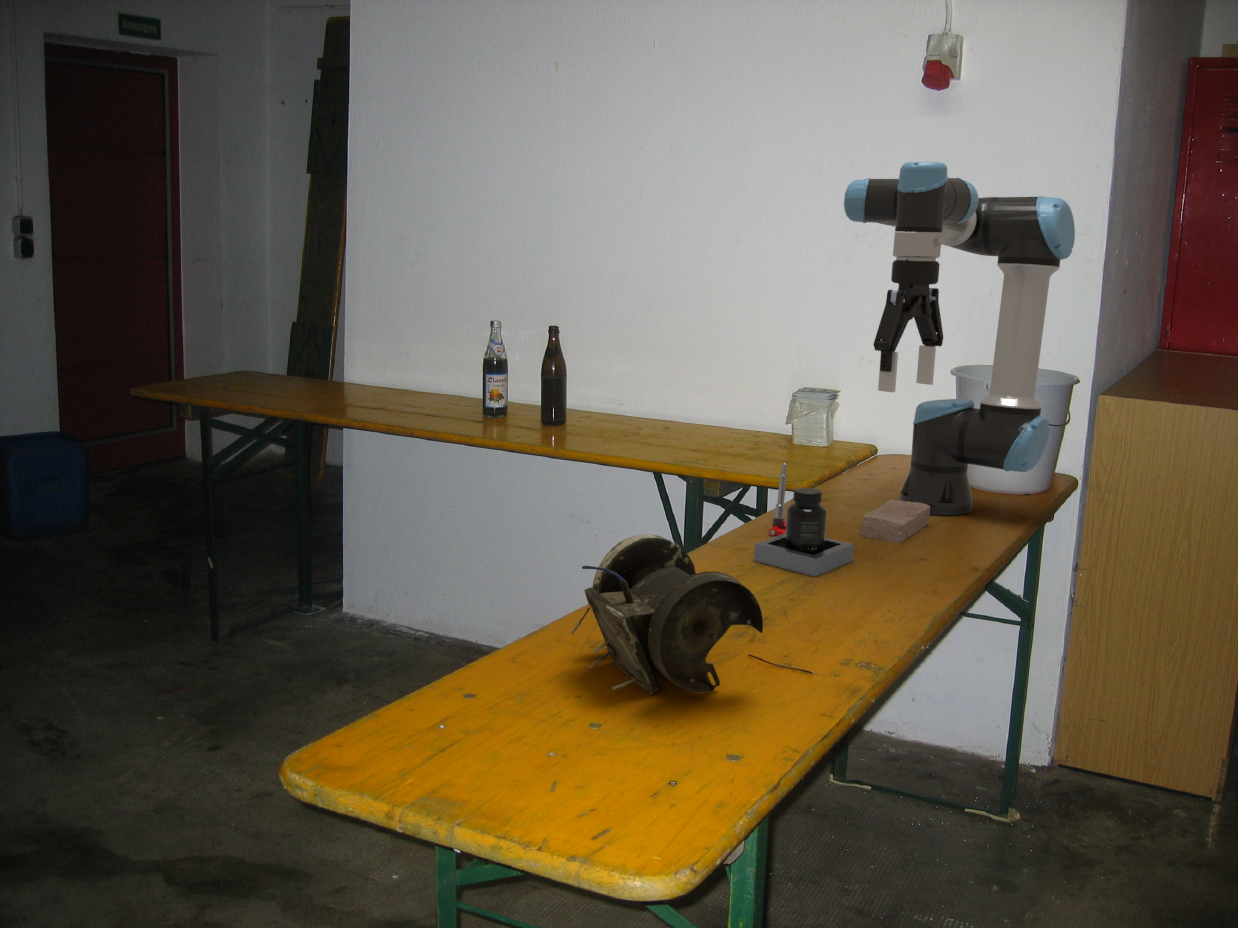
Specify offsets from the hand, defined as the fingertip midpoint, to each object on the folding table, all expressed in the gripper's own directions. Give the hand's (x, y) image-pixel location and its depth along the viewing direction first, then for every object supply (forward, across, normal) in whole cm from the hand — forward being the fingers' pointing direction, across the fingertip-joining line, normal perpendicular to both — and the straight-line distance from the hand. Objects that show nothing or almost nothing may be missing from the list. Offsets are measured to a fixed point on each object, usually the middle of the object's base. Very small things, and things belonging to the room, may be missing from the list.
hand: (906, 387), depth 183 cm
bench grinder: (+32, -65, 0) cm, 72 cm away
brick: (+32, +23, +11) cm, 41 cm away
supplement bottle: (+31, -8, +13) cm, 35 cm away
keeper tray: (+32, -8, +13) cm, 35 cm away
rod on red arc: (+32, +6, +23) cm, 40 cm away
